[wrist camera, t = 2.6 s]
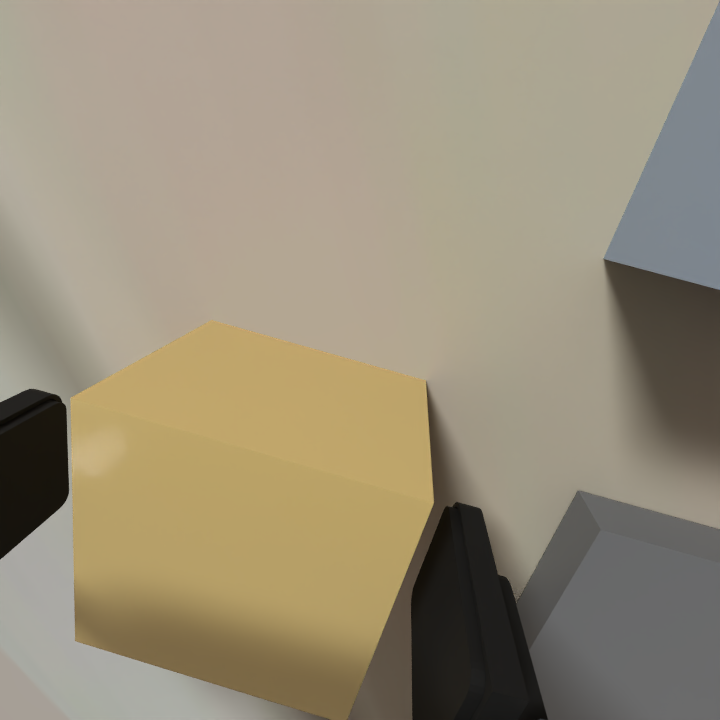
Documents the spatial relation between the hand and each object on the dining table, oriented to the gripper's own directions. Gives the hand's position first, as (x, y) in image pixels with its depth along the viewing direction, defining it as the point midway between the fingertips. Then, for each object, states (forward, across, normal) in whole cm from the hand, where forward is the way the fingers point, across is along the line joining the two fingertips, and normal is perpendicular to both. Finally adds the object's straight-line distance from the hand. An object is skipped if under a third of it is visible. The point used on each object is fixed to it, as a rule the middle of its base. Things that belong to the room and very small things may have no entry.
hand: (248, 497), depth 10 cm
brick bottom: (+3, 0, 0) cm, 3 cm away
